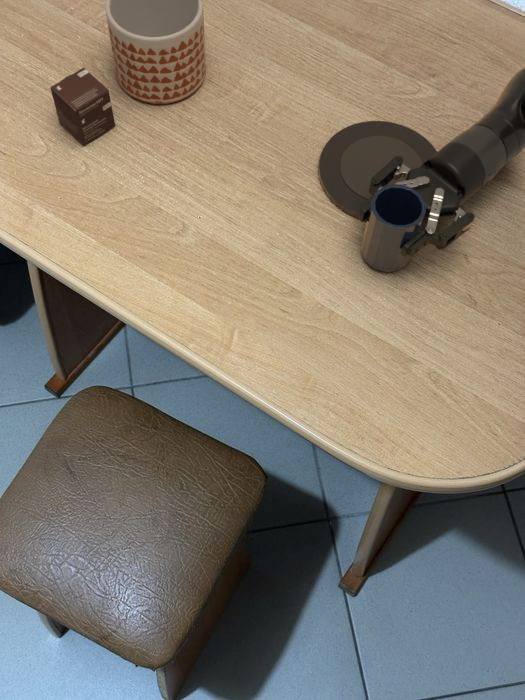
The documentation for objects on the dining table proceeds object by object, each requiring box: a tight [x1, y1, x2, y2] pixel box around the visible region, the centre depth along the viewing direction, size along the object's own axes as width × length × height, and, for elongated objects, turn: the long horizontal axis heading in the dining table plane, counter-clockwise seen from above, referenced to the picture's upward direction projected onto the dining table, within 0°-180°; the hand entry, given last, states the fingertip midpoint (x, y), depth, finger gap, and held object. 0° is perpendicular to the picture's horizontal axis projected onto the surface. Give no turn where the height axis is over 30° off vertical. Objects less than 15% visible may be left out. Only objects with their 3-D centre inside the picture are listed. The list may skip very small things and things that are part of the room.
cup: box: [360, 184, 426, 273], centre depth 109 cm, size 7×7×10 cm
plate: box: [318, 120, 438, 222], centre depth 120 cm, size 18×18×1 cm
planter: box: [104, 0, 207, 105], centre depth 123 cm, size 14×14×13 cm
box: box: [50, 67, 116, 146], centre depth 120 cm, size 6×6×7 cm
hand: (382, 234), depth 108 cm, fingers closed on cup, 7 cm apart
